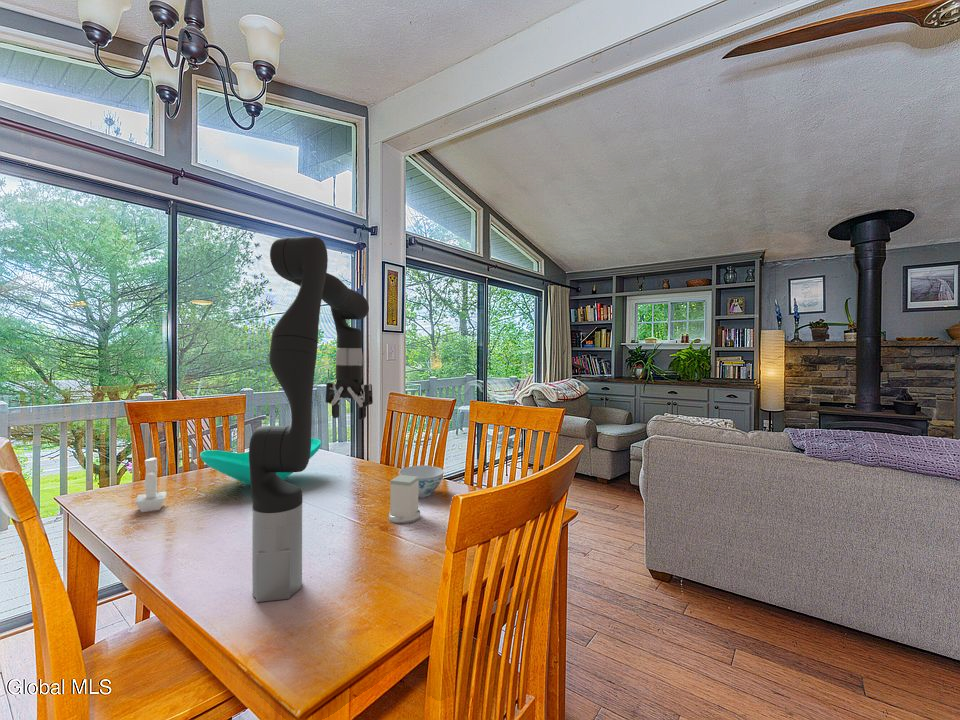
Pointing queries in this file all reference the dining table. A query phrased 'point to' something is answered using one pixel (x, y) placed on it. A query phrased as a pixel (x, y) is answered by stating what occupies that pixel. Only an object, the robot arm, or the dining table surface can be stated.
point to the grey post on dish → (404, 518)
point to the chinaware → (424, 478)
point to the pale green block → (404, 496)
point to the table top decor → (241, 462)
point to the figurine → (150, 489)
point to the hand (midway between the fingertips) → (348, 418)
